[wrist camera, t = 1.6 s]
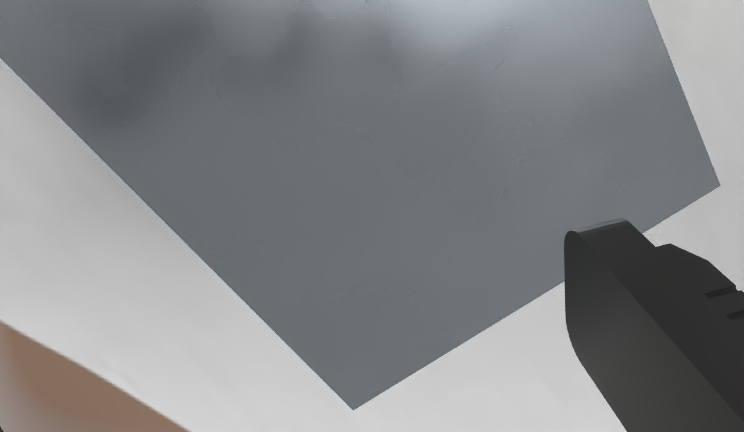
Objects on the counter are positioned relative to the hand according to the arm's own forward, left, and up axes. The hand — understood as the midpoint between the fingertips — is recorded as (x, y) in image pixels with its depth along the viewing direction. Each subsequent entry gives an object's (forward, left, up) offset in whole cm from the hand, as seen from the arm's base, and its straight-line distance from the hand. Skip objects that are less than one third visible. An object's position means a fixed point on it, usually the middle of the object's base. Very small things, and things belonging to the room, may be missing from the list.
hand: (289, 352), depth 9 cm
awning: (-3, -1, -24) cm, 24 cm away
